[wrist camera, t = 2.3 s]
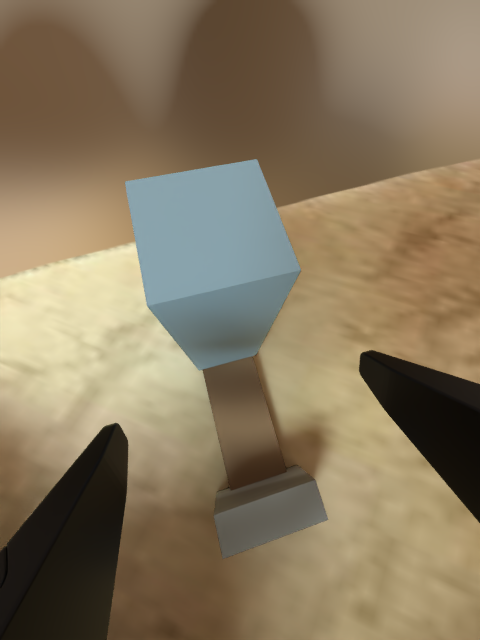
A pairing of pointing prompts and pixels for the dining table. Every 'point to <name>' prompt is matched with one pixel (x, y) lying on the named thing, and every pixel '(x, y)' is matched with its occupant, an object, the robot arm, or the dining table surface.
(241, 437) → the rail
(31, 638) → the robot arm
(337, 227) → the dining table surface
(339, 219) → the dining table surface
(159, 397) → the dining table surface
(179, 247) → the block
